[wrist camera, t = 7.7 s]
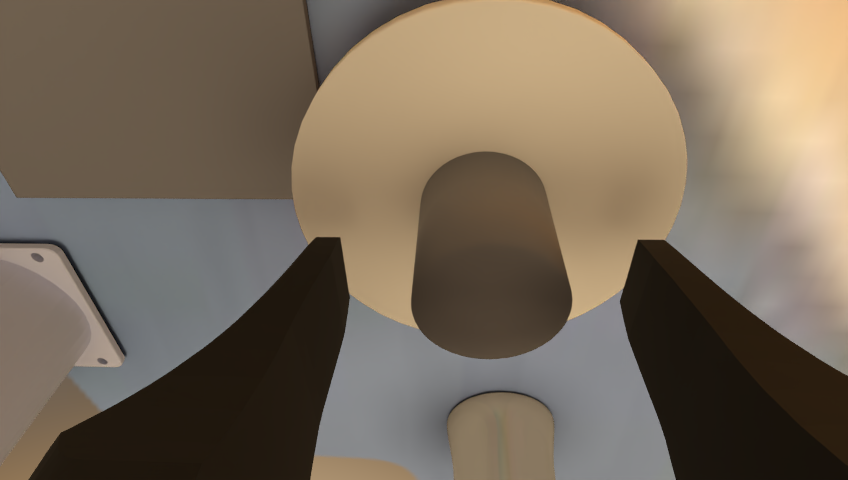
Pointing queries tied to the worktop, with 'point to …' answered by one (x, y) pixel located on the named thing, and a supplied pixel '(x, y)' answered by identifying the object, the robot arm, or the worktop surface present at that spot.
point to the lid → (489, 169)
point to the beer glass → (501, 438)
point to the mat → (153, 97)
